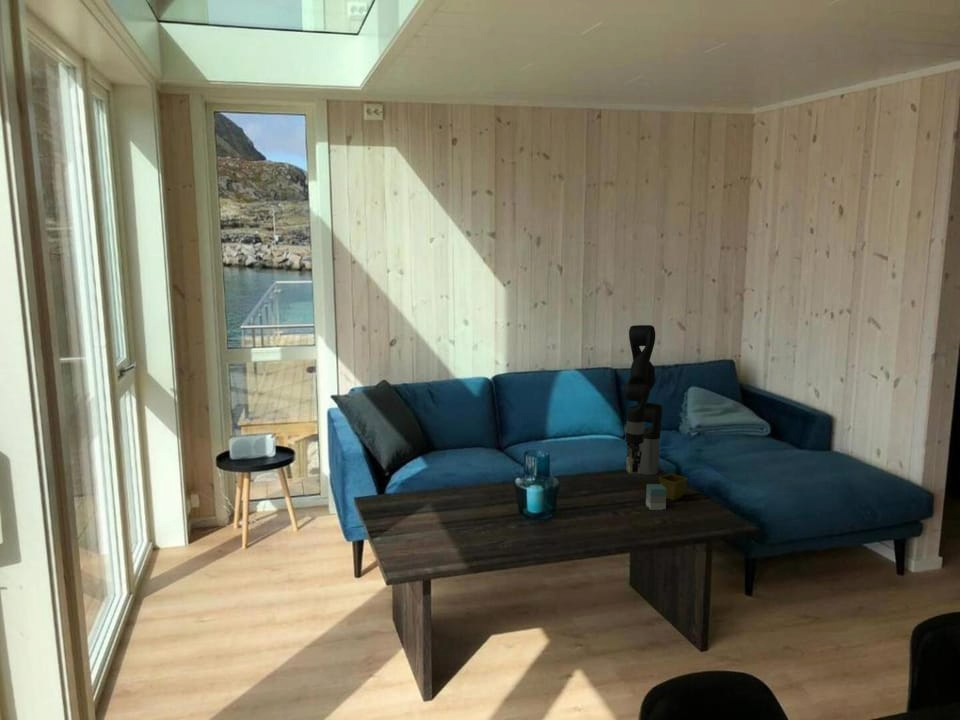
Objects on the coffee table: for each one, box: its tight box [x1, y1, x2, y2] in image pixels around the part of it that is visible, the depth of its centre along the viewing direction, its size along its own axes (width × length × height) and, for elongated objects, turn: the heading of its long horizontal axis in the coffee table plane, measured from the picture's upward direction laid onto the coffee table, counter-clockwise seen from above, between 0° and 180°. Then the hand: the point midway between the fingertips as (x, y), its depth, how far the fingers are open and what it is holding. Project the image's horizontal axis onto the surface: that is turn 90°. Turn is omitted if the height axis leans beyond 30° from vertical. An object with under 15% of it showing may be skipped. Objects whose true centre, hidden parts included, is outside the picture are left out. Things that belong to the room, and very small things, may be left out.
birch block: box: [626, 456, 641, 474], centre depth 323 cm, size 5×5×6 cm
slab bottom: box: [645, 497, 667, 511], centre depth 317 cm, size 6×6×3 cm
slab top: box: [645, 483, 667, 496], centre depth 316 cm, size 6×6×3 cm
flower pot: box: [658, 473, 688, 501], centre depth 327 cm, size 9×9×9 cm
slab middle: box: [645, 491, 667, 504], centre depth 316 cm, size 6×6×3 cm
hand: (633, 470), depth 323 cm, fingers closed on birch block, 4 cm apart
